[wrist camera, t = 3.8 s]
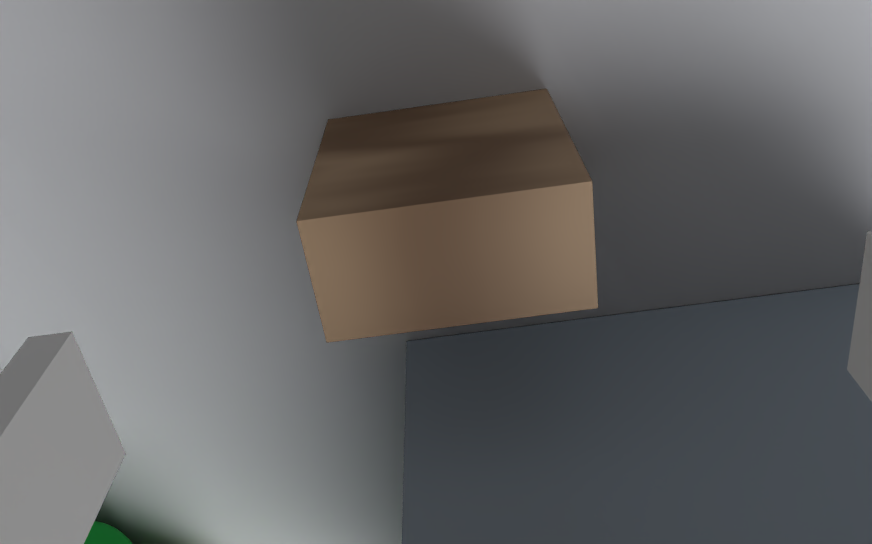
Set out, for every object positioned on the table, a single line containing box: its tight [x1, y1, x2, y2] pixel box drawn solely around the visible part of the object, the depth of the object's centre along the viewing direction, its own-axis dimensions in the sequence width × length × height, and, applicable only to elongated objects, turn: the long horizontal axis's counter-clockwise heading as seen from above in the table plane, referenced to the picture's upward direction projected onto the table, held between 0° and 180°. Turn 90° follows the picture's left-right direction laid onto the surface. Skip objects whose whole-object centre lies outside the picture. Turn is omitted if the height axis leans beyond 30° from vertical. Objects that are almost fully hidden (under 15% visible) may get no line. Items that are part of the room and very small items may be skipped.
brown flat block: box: [297, 89, 598, 342], centre depth 20 cm, size 6×3×6 cm, turn 98°
